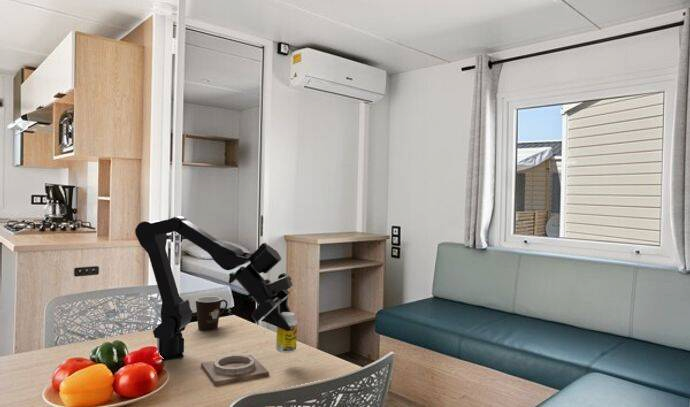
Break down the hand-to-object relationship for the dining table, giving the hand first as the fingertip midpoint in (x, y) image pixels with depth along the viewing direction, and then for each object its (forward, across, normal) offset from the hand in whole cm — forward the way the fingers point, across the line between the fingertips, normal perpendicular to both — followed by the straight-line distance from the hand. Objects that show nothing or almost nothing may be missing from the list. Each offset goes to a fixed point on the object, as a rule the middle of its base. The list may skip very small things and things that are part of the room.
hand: (291, 326), depth 128 cm
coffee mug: (-17, +28, +32) cm, 46 cm away
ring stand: (-2, -7, +17) cm, 19 cm away
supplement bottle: (+4, 0, +6) cm, 7 cm away
